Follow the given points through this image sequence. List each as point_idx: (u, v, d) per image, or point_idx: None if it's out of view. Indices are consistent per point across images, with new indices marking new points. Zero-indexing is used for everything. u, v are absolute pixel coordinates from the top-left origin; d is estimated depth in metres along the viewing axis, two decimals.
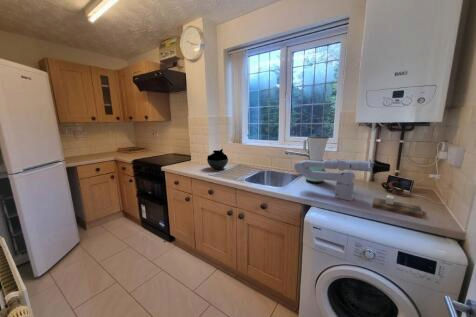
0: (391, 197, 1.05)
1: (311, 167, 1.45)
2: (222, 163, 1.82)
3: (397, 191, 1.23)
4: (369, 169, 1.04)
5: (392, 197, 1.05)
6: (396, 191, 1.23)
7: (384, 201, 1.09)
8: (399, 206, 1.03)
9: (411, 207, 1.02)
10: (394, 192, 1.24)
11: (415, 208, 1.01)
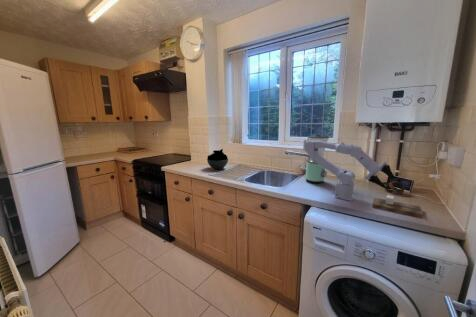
0: (391, 197, 1.05)
1: (311, 167, 1.45)
2: (222, 163, 1.82)
3: (397, 191, 1.23)
4: (366, 178, 1.07)
5: (392, 197, 1.05)
6: (396, 191, 1.23)
7: (384, 201, 1.09)
8: (399, 206, 1.03)
9: (411, 207, 1.02)
10: (394, 192, 1.24)
11: (415, 208, 1.01)
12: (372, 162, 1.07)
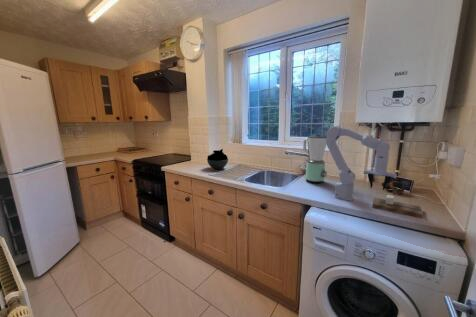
0: (391, 197, 1.05)
1: (311, 167, 1.45)
2: (222, 163, 1.82)
3: (397, 191, 1.23)
4: None
5: (392, 197, 1.05)
6: (396, 191, 1.24)
7: (384, 201, 1.09)
8: (399, 206, 1.03)
9: (411, 207, 1.02)
10: (394, 192, 1.24)
11: (415, 208, 1.01)
12: (380, 166, 1.04)
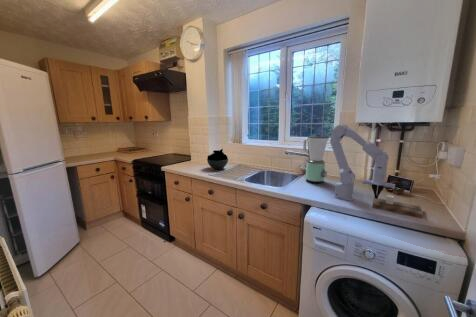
0: (391, 197, 1.05)
1: (311, 167, 1.45)
2: (222, 163, 1.82)
3: (398, 191, 1.24)
4: (362, 181, 1.12)
5: (392, 197, 1.05)
6: (397, 191, 1.24)
7: (384, 201, 1.09)
8: (399, 206, 1.03)
9: (411, 207, 1.02)
10: (395, 192, 1.24)
11: (415, 208, 1.01)
12: (379, 177, 1.05)
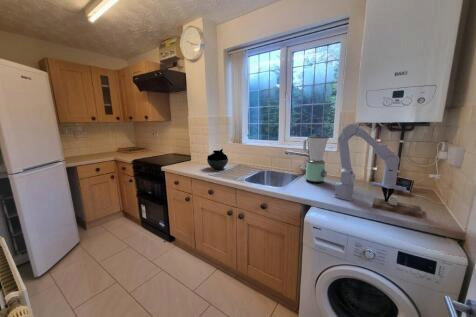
0: (395, 198, 1.04)
1: (311, 167, 1.45)
2: (222, 163, 1.82)
3: (398, 191, 1.24)
4: (372, 183, 1.10)
5: (396, 198, 1.04)
6: (397, 191, 1.24)
7: (384, 201, 1.09)
8: (399, 206, 1.03)
9: (411, 207, 1.02)
10: (395, 192, 1.25)
11: (415, 208, 1.01)
12: (389, 179, 1.02)
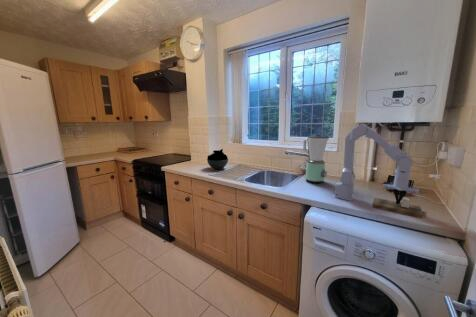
0: (407, 200, 1.01)
1: (311, 167, 1.45)
2: (222, 163, 1.82)
3: None
4: None
5: (408, 200, 1.01)
6: None
7: (384, 201, 1.09)
8: (399, 206, 1.03)
9: (411, 207, 1.02)
10: None
11: (415, 208, 1.01)
12: (401, 181, 0.99)
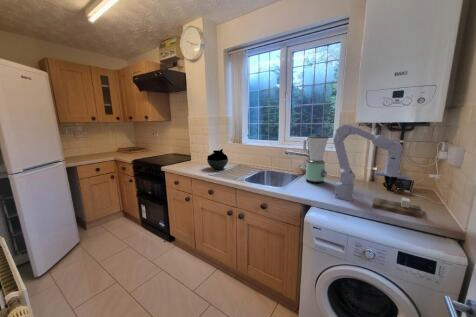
0: (407, 200, 1.01)
1: (311, 167, 1.45)
2: (222, 163, 1.82)
3: (399, 190, 1.24)
4: (374, 172, 1.08)
5: (408, 200, 1.01)
6: (398, 190, 1.25)
7: (384, 201, 1.09)
8: (399, 206, 1.03)
9: (411, 207, 1.02)
10: (396, 191, 1.25)
11: (415, 208, 1.01)
12: (392, 168, 1.01)
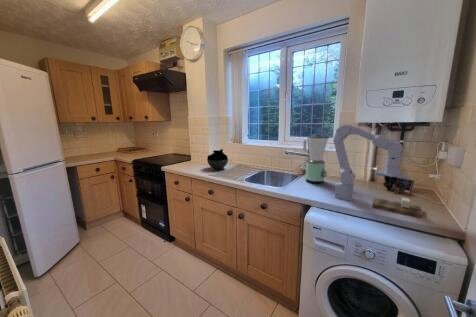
0: (407, 200, 1.01)
1: (311, 167, 1.45)
2: (222, 163, 1.82)
3: (399, 190, 1.25)
4: (374, 172, 1.08)
5: (408, 200, 1.01)
6: (398, 190, 1.25)
7: (384, 201, 1.09)
8: (399, 206, 1.03)
9: (411, 207, 1.02)
10: (396, 191, 1.25)
11: (415, 208, 1.01)
12: (392, 168, 1.01)
